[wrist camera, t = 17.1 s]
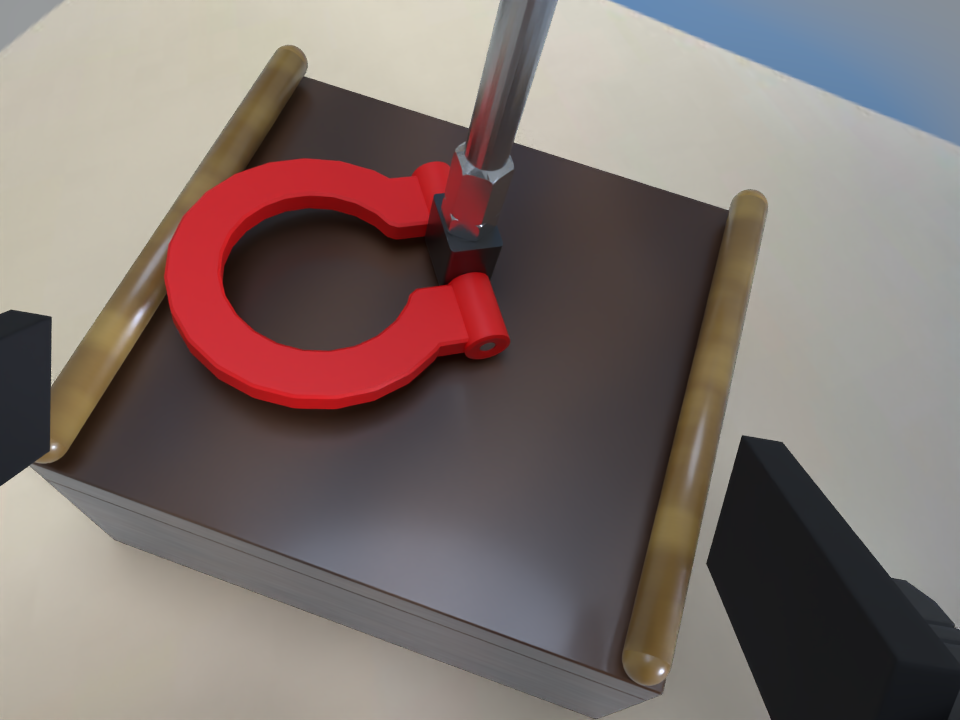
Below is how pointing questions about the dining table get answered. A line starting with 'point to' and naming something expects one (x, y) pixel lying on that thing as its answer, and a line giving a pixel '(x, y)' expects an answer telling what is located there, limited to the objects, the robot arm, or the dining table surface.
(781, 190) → the dining table surface
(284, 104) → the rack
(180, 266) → the tow hook
